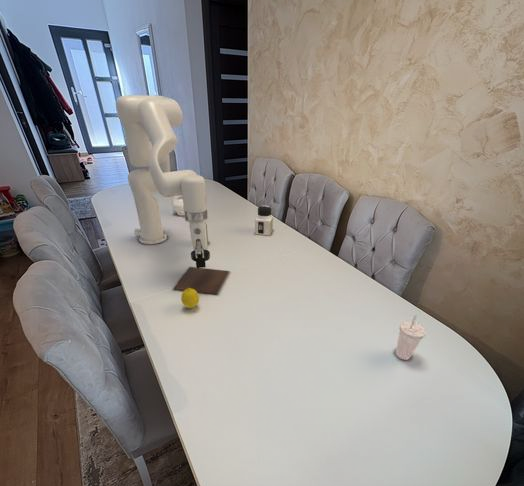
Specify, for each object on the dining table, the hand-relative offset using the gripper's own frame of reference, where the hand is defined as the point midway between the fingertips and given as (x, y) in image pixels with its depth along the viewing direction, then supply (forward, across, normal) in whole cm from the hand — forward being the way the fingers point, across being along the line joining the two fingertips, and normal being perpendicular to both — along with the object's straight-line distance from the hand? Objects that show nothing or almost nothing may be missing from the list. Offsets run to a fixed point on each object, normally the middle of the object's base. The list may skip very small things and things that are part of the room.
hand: (200, 262), depth 111 cm
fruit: (+8, -16, +4) cm, 19 cm away
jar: (+8, +33, 0) cm, 34 cm away
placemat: (+8, 0, 0) cm, 8 cm away
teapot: (+8, +74, +10) cm, 75 cm away
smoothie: (+9, -47, -54) cm, 72 cm away
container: (+8, +43, -31) cm, 54 cm away
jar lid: (-3, 0, 0) cm, 3 cm away
